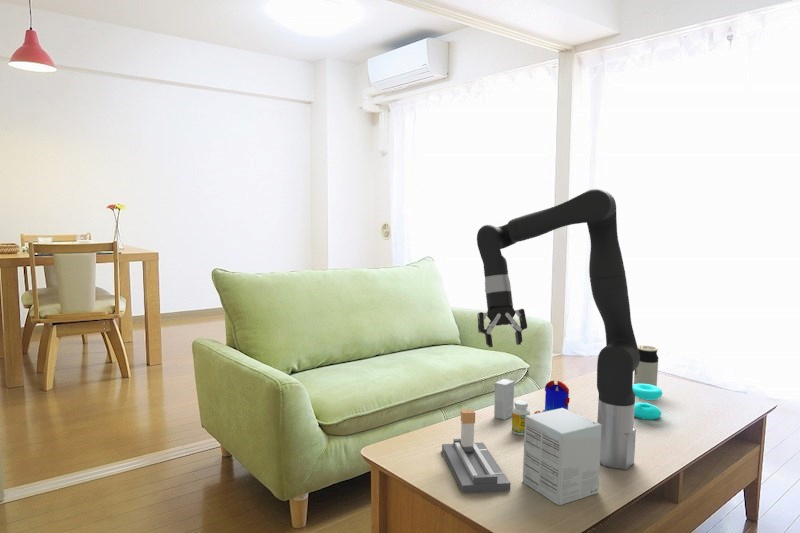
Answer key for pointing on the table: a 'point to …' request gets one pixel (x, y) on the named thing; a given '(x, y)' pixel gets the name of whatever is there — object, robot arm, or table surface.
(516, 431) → the supplement bottle
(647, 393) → the donuts
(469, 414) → the fader
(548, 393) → the fantasy tower
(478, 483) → the grey rail track base
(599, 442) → the supplement box
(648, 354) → the travel mug
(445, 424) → the table surface
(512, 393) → the skincare box
